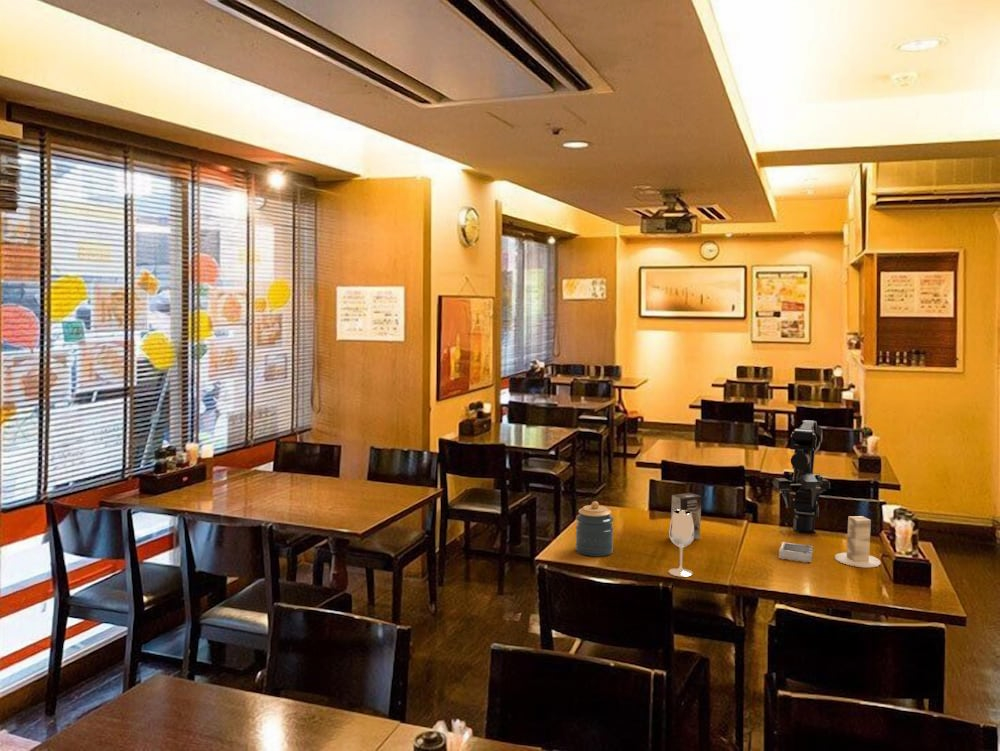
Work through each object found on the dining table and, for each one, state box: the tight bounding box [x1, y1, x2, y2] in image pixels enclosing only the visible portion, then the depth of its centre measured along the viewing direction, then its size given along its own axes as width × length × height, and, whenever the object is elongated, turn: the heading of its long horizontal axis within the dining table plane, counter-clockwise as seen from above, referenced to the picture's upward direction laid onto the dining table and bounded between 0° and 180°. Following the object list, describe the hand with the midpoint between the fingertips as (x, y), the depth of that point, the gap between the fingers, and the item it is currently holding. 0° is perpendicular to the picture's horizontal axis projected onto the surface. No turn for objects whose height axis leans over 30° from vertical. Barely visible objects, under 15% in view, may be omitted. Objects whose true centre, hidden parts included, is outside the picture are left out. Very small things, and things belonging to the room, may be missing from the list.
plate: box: [834, 551, 882, 569], centre depth 268 cm, size 14×14×1 cm
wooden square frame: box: [778, 541, 814, 563], centre depth 272 cm, size 10×10×3 cm
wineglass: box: [668, 510, 694, 578], centre depth 254 cm, size 8×8×20 cm
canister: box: [575, 500, 615, 557], centre depth 276 cm, size 13×13×18 cm
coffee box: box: [670, 492, 702, 541], centre depth 292 cm, size 9×6×16 cm
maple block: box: [846, 515, 872, 562], centre depth 267 cm, size 5×5×14 cm
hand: (800, 506), depth 287 cm, fingers open, 9 cm apart
